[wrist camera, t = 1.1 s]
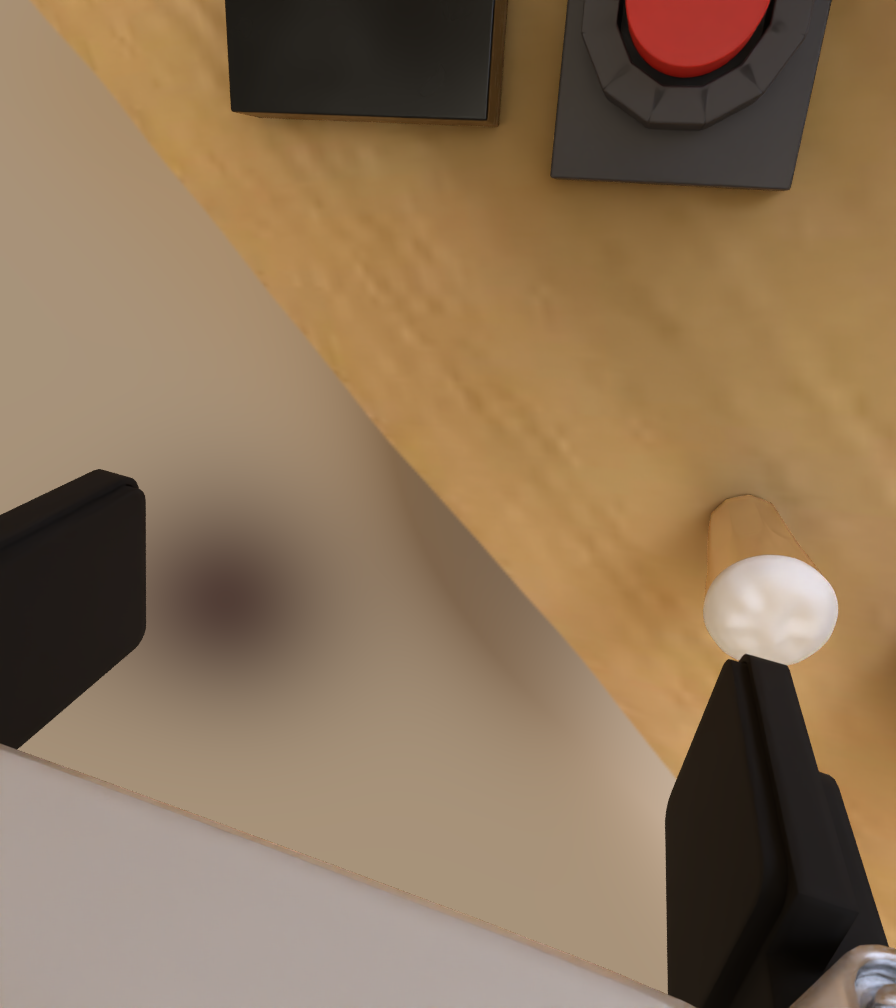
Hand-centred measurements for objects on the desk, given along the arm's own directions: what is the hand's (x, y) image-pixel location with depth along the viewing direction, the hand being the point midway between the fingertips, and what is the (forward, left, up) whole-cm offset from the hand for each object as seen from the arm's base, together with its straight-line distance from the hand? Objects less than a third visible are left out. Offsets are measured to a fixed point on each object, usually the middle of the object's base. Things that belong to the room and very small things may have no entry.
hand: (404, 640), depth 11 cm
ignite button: (-13, 0, -21) cm, 25 cm away
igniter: (-13, 0, -25) cm, 28 cm away
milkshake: (+5, +11, -25) cm, 27 cm away
